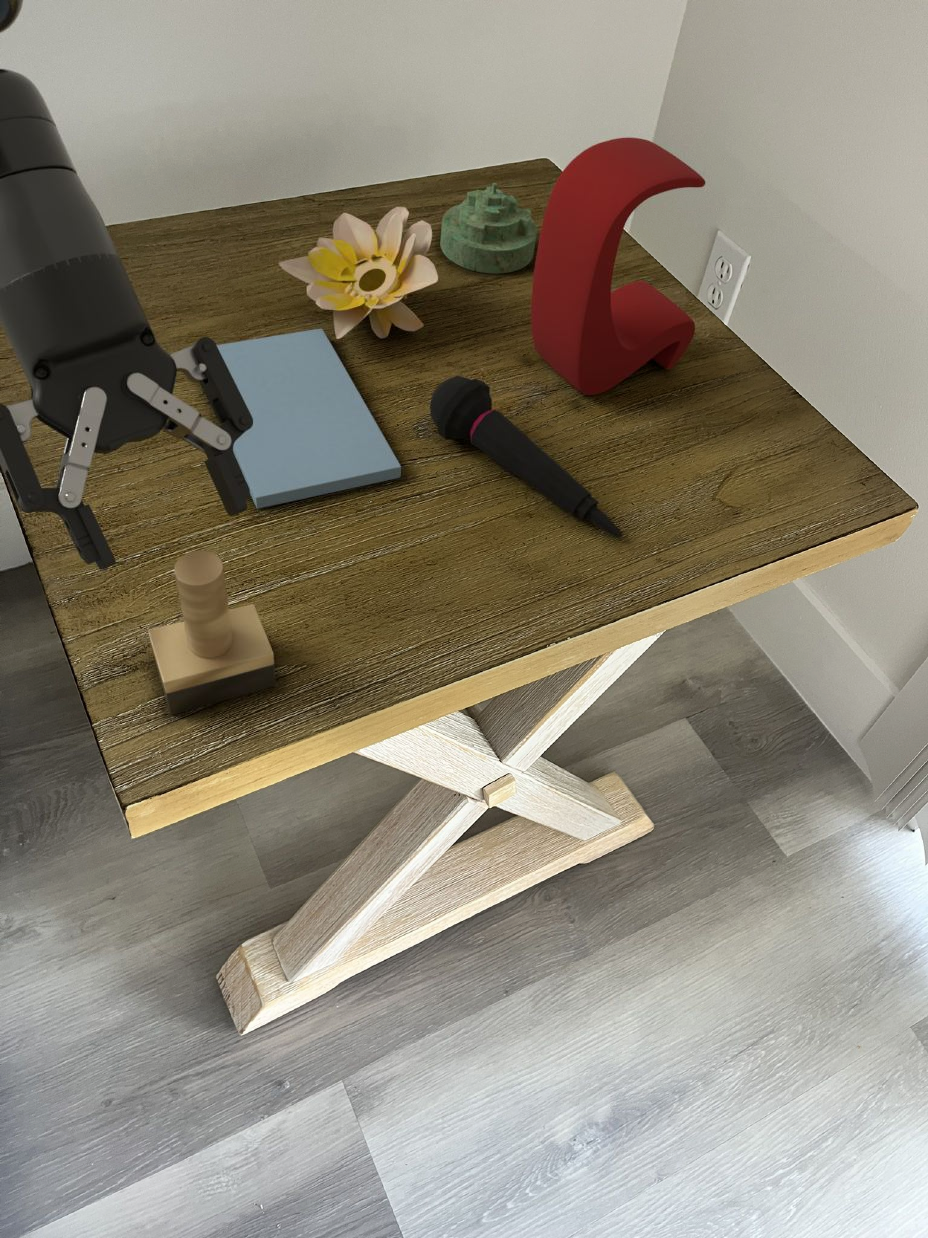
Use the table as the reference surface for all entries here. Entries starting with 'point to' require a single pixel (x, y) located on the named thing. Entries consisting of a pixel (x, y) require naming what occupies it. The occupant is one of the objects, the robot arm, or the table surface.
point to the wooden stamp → (210, 641)
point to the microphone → (509, 446)
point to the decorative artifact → (488, 233)
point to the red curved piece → (604, 269)
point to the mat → (303, 420)
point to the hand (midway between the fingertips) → (176, 539)
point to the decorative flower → (368, 271)
